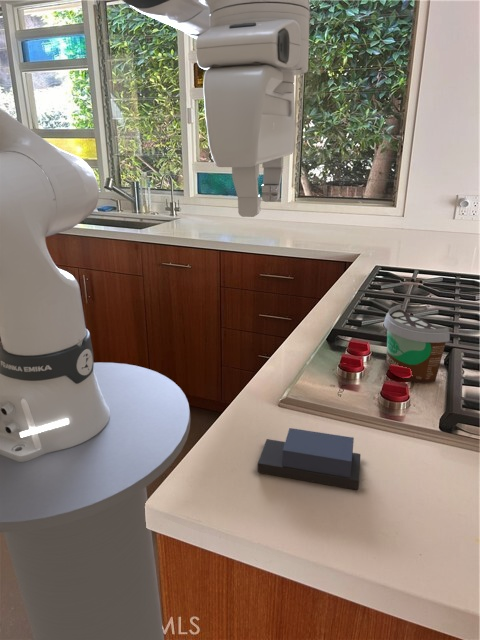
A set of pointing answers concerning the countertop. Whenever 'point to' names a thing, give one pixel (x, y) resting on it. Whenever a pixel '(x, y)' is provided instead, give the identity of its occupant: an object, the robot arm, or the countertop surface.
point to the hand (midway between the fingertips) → (261, 207)
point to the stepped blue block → (312, 458)
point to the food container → (414, 344)
